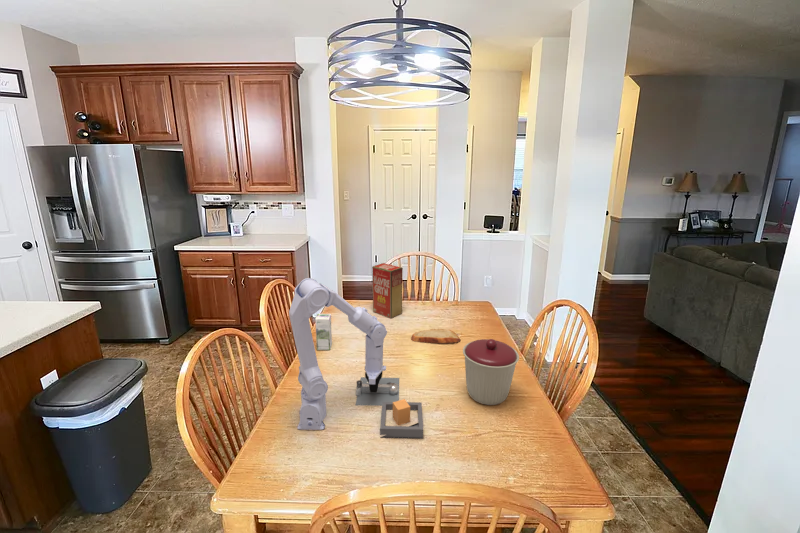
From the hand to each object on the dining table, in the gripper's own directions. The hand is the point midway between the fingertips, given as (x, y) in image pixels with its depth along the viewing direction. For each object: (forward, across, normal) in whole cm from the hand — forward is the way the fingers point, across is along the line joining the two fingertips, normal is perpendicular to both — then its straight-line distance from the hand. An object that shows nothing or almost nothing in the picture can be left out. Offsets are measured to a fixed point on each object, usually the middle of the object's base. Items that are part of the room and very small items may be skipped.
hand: (373, 391), depth 128 cm
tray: (+2, -13, -10) cm, 16 cm away
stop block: (+2, -12, -10) cm, 16 cm away
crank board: (+2, +2, -2) cm, 4 cm away
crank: (+1, +1, -1) cm, 2 cm away
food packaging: (+2, +72, -1) cm, 72 cm away
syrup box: (+2, +34, +24) cm, 41 cm away
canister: (+2, +2, -39) cm, 39 cm away
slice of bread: (+2, +44, -24) cm, 50 cm away
